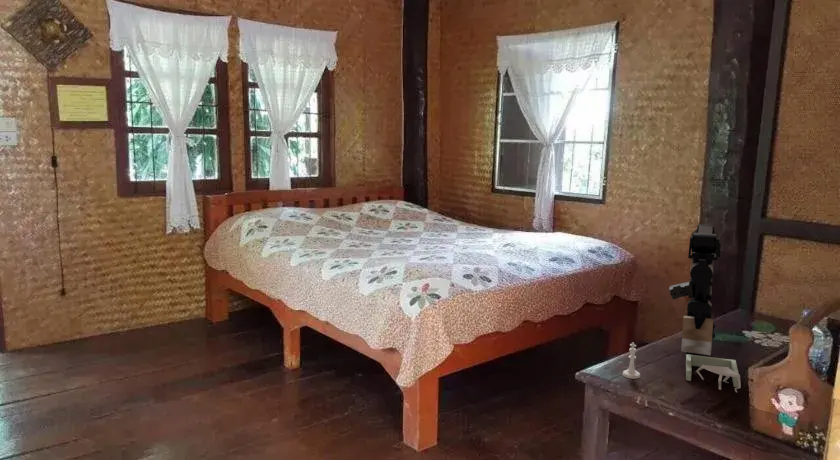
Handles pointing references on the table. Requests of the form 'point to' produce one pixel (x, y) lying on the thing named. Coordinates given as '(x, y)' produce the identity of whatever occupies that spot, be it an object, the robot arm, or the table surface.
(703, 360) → the green c-shaped bracket
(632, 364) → the chess piece
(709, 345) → the two-tone wooden slab
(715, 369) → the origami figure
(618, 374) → the table surface
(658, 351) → the table surface
